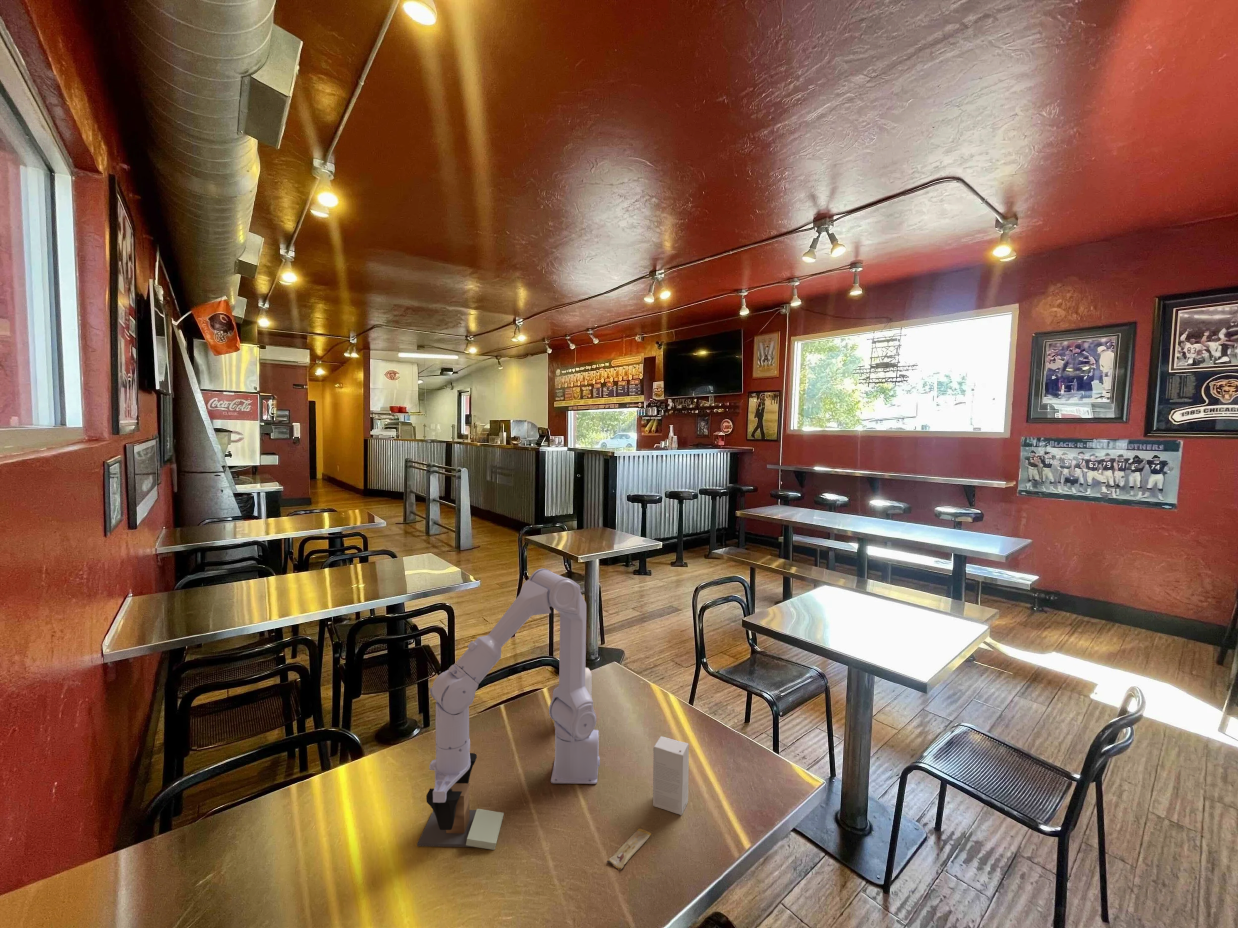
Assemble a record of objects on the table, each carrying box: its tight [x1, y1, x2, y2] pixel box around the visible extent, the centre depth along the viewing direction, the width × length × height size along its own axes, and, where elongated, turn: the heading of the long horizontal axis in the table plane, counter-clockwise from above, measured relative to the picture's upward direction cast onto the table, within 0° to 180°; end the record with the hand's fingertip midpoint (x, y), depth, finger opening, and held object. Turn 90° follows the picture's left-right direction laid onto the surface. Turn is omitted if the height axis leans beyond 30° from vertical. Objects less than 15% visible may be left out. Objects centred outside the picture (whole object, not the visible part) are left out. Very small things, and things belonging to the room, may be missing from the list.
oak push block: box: [446, 783, 470, 833], centre depth 93 cm, size 3×3×7 cm
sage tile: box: [466, 808, 505, 851], centre depth 92 cm, size 1×7×5 cm
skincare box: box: [652, 735, 690, 816], centre depth 100 cm, size 6×4×12 cm
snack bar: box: [606, 827, 652, 871], centre depth 89 cm, size 10×2×3 cm
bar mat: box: [416, 809, 477, 848], centre depth 93 cm, size 10×8×1 cm
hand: (453, 811), depth 93 cm, fingers open, 7 cm apart
